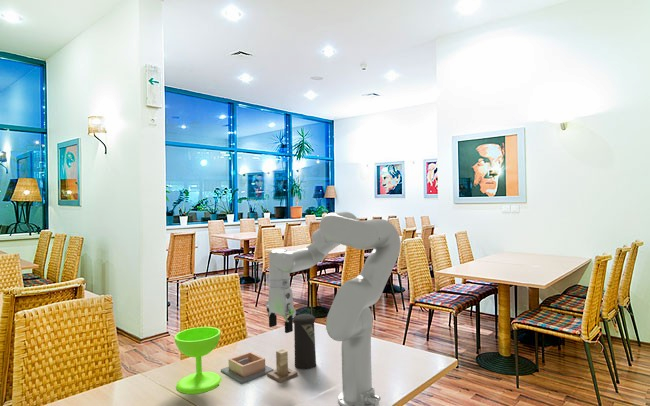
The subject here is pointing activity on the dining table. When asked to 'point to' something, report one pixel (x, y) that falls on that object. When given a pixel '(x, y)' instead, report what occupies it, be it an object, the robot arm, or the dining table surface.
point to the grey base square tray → (246, 367)
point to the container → (304, 341)
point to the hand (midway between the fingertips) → (280, 329)
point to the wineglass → (198, 358)
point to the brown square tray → (280, 379)
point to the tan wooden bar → (282, 362)
